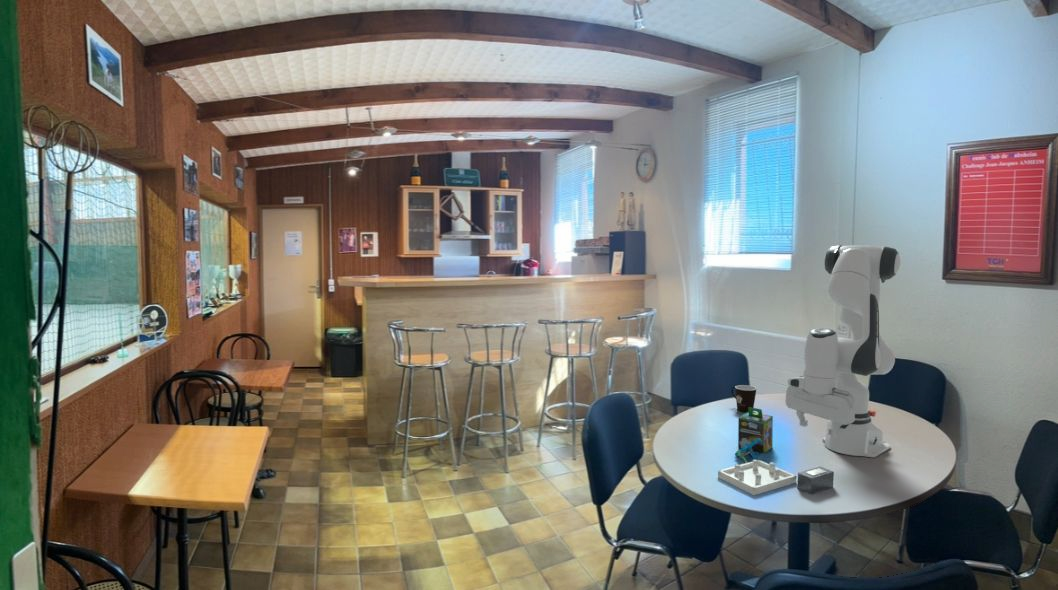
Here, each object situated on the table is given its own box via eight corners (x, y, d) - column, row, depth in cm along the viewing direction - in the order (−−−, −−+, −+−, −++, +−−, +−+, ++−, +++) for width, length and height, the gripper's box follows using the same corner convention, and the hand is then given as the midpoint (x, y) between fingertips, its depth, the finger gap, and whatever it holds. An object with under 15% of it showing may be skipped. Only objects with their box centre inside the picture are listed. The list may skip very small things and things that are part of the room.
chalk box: (772, 447, 201) (774, 407, 199) (763, 455, 194) (765, 413, 193) (746, 441, 207) (748, 402, 206) (737, 448, 200) (738, 407, 199)
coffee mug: (759, 413, 239) (759, 390, 238) (738, 413, 239) (739, 390, 238) (748, 405, 251) (749, 383, 250) (729, 405, 251) (729, 383, 250)
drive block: (819, 482, 173) (820, 465, 172) (833, 487, 169) (833, 471, 168) (797, 488, 168) (797, 472, 168) (810, 494, 164) (811, 477, 164)
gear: (746, 446, 198) (763, 432, 191) (757, 460, 195) (775, 448, 188) (726, 457, 192) (742, 444, 185) (737, 472, 189) (754, 460, 182)
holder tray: (758, 466, 184) (759, 454, 184) (796, 482, 172) (796, 470, 172) (717, 477, 176) (718, 465, 176) (754, 495, 164) (754, 482, 164)
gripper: (861, 391, 158) (858, 439, 159) (797, 376, 176) (795, 419, 177) (846, 394, 155) (844, 443, 156) (783, 378, 173) (781, 422, 174)
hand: (817, 430), depth 167 cm, fingers open, 8 cm apart
